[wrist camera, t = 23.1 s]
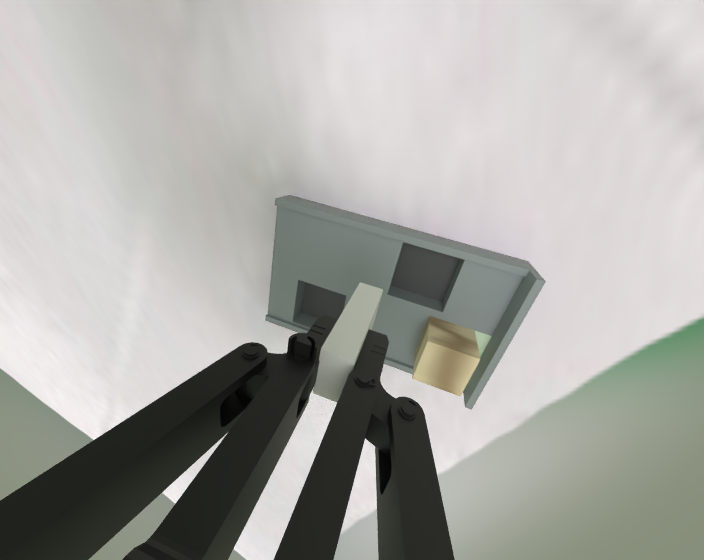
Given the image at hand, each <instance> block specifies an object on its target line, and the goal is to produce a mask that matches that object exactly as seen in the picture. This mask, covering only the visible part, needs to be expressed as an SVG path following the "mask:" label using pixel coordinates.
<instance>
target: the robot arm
mask: <svg viewBox="0 0 704 560" xmlns="http://www.w3.org/2000/svg"><path fill="white" fill-rule="evenodd" d="M382 293H383V289H380V288H377V287H374V286H371V285H367V284H364V283H361V282H360V283H359V285H358V287H357V288H356V290H355V292H354V293H353V295H352V297H351V299H350V300H349V302H348V304H347V305H346V307H345V309H344V310H343V312H342V314H341V315H340V317H339V319H335V318H332V317H329V316H326V315H323V316H321V317H319V318H317V320H316V321H315V322H314V324H313V326H312V327H311V328H310V330H309V331H308V332H307V333H297V334H294V335H292V336H291V337H290V338H289V342H288V351H287V353H285V354H274V353H268V352H267V349H266V348H265V347H264V346H263V345H262V344H259V343H253V342H251V343H246V344H243V345H241V346H239V347H238V348H236V349H235V350H233V351H232V352H230V353H228V354H227V355H225V356H224V357H222V358H221V359H219V360H218V361H216V362H215V363H213V364H211V365H210V366H208V367H207V368H205V369H204V370H202V371H201V372H199V373H197V374H196V375H194V376H193V377H191V378H190V379H188V380H187V381H185V382H183V383H182V384H180V385H179V386H177V387H176V388H174V389H173V390H171V391H170V392H168V393H166V394H165V395H163V396H162V397H160V398H159V399H157V400H156V401H154V402H152V403H151V404H149V405H148V406H146V407H145V408H143V409H142V410H140V411H139V412H137V413H135V414H134V415H132V416H131V417H129V418H128V419H126V420H125V421H123V422H121V423H120V424H118V425H117V426H115V427H114V428H112V429H111V430H109V431H108V432H106V433H104V434H103V435H101V436H100V437H98V438H97V439H95V440H94V441H92V442H90V443H89V444H87V445H86V446H84V447H83V448H81V449H80V450H78V451H76V452H75V453H73V454H72V455H70V456H69V457H67V458H66V459H64V460H63V461H61V462H60V463H58V464H56V465H55V466H53V467H52V468H50V469H49V470H47V471H46V472H44V473H43V474H41V475H39V476H38V477H36V478H35V479H33V480H32V481H30V482H28V483H27V484H25V485H24V486H22V487H21V488H19V489H18V490H16V491H14V492H13V493H11V494H10V495H9V496H7V497H5V498H4V499H2V500H1V501H0V560H88V559H89V558H90V557H92V556H93V555H94V554H95V553H96V552H97V551H98V550H99V549H100V548H102V546H104V545H105V544H106V543H107V542H108V541H109V540H110V539H111V538H113V537H114V536H115V535H116V534H117V533H118V532H119V531H120V530H121V529H122V528H123V527H125V526H126V525H127V524H128V523H129V522H130V521H131V520H132V519H133V518H134V517H135V516H137V515H138V514H139V513H140V512H141V511H142V510H143V509H144V508H145V507H146V506H148V505H149V504H150V503H151V502H152V501H153V500H154V499H155V498H156V497H157V496H159V495H160V494H161V493H162V492H163V491H164V490H165V489H166V488H167V487H168V486H169V485H171V484H172V483H173V482H174V481H175V480H176V479H177V478H178V477H179V476H180V475H182V474H183V473H184V472H185V471H186V470H187V469H188V468H189V467H190V466H191V465H193V464H194V463H195V462H196V461H197V460H198V459H199V458H200V457H201V456H202V455H203V454H205V453H206V452H207V451H208V450H209V449H210V448H211V447H212V446H213V445H214V444H216V443H217V442H218V441H219V440H220V439H221V438H222V437H223V436H224V435H225V434H226V433H227V435H226V436H225V438H224V439H223V440H222V442H221V443H220V444H219V446H218V447H217V448H216V450H215V451H214V452H213V454H212V455H211V456H210V458H209V459H208V461H207V462H206V463H205V465H204V466H203V467H202V469H201V470H200V471H199V473H198V474H197V475H196V477H195V478H194V480H193V481H192V482H191V484H190V485H189V486H188V488H187V489H186V490H185V492H184V493H183V494H182V496H181V497H180V498H179V500H178V501H177V503H176V504H175V505H174V507H173V508H172V509H171V511H170V512H169V513H168V515H167V516H166V517H165V519H164V520H163V522H162V523H161V524H160V526H159V527H158V528H157V530H156V531H155V532H154V534H153V535H152V536H151V537H150V538H149V539H148V540H147V541H146V542H145V543H143V544H141V545H139V546H137V547H135V548H134V549H133V550H132V551H131V552H129V553H128V555H126V556H125V557H124V558H123V560H228V558H229V556H230V554H231V552H232V550H233V548H234V546H235V544H236V542H237V541H238V539H239V537H240V535H241V533H242V531H243V529H244V527H245V525H246V523H247V521H248V519H249V517H250V515H251V513H252V511H253V509H254V507H255V505H256V503H257V501H258V500H259V498H260V496H261V494H262V492H263V490H264V488H265V486H266V484H267V482H268V480H269V478H270V476H271V474H272V472H273V470H274V468H275V466H276V464H277V462H278V460H279V458H280V457H281V455H282V453H283V451H284V449H285V447H286V445H287V443H288V441H289V439H290V437H291V435H292V433H293V431H294V429H295V427H296V425H297V423H298V421H299V419H300V417H301V416H302V414H303V412H304V410H305V408H306V406H307V404H308V401H309V396H310V393H311V391H312V389H313V387H314V389H313V393H314V394H317V395H320V396H322V397H325V398H327V399H330V400H332V401H335V402H337V405H336V407H335V410H334V412H333V415H332V417H331V420H330V422H329V425H328V427H327V430H326V432H325V434H324V437H323V439H322V442H321V444H320V447H319V449H318V452H317V454H316V457H315V459H314V462H313V464H312V467H311V469H310V472H309V474H308V476H307V479H306V481H305V484H304V486H303V489H302V491H301V494H300V496H299V499H298V501H297V504H296V506H295V509H294V511H293V514H292V516H291V518H290V521H289V523H288V526H287V528H286V531H285V533H284V536H283V538H282V541H281V543H280V546H279V548H278V551H277V553H276V555H275V558H274V560H333V559H334V555H335V551H336V547H337V544H338V539H339V536H340V532H341V528H342V524H343V521H344V517H345V513H346V509H347V505H348V501H349V498H350V494H351V490H352V486H353V482H354V478H355V474H356V471H357V467H358V463H359V459H360V455H361V451H362V448H363V444H364V440H365V438H366V439H367V440H368V441H369V442H371V443H372V444H373V445H374V446H375V454H376V487H377V519H378V552H379V560H454V556H453V550H452V545H451V540H450V536H449V531H448V526H447V521H446V516H445V511H444V507H443V502H442V497H441V492H440V487H439V482H438V478H437V473H436V468H435V463H434V458H433V453H432V449H431V444H430V439H429V434H428V429H427V424H426V420H425V415H424V412H423V409H422V408H421V406H420V405H419V404H418V403H417V402H416V401H414V400H413V399H411V398H408V397H398V398H396V399H395V398H394V397H392V396H391V395H390V394H388V393H387V392H386V391H385V390H384V388H383V387H382V385H381V382H380V376H381V372H382V368H383V364H384V360H385V357H386V353H387V349H388V345H389V340H388V337H387V335H385V334H382V333H379V332H376V331H373V330H371V329H372V327H373V324H374V320H375V317H376V313H377V310H378V307H379V303H380V300H381V296H382Z"/></svg>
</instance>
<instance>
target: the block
mask: <svg viewBox="0 0 704 560" xmlns="http://www.w3.org/2000/svg"><path fill="white" fill-rule="evenodd" d="M479 361H480V354H479V349H478V345H477V340H476V335H475V330H472V329H469V328H466V327H463V326H460V325H456V324H453V323H450V322H447V321H444V320H441V319H438V318H435V317H432V316H429V318H428V321H427V323H426V326H425V328H424V331H423V333H422V336H421V338H420V341H419V343H418V346H417V348H416V352H415V360H414V368H413V376H412V379H415V380H418V381H420V382H423V383H426V384H428V385H431V386H434V387H436V388H439V389H442V390H445V391H447V392H450V393H453V394H455V395H458V396H461V394H462V392H463V391H464V389H465V387H466V385H467V383H468V381H469V380H470V378H471V376H472V374H473V372H474V370H475V369H476V367H477V365H478V363H479Z"/></svg>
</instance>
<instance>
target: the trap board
mask: <svg viewBox="0 0 704 560" xmlns="http://www.w3.org/2000/svg"><path fill="white" fill-rule="evenodd" d="M275 205H276V206H277V217H276V228H275V240H274V251H273V263H272V274H271V285H270V297H269V308H268V314H267V315H266V319H265V320H266V321H269V322H271V323H274V324H277V325H279V326H282V327H285V328H288V329H290V330H293V331H296V332H299V333H307V332H308V331H309V330H310V328H311V327H312V326H313V324H314V322H315V321H316V320H317V318H319V317H321V316H323V315H326V316H329V317H332V318H335V319H339V317H340V315H341V314H342V312H343V310H344V309H345V307H346V305H347V304H348V302H349V300H350V299H351V297H352V295H353V293H354V292H355V290H356V288H357V287H358V285H359V283H360V282H361V283H364V284H367V285H371V286H374V287H377V288H380V289H383V293H382V296H381V300H380V303H379V307H378V310H377V313H376V317H375V320H374V324H373V327H372V329H371V330H373V331H376V332H379V333H382V334H385V335H387V337H388V340H389V345H388V349H387V353H386V357H385V360H384V364H386V365H389V366H392V367H394V368H397V369H400V370H403V371H405V372H408V373H411V374H413V368H414V360H415V352H416V348H417V346H418V343H419V341H420V338H421V336H422V333H423V331H424V328H425V326H426V323H427V321H428V318H429V316H432V317H435V318H438V319H441V320H444V321H447V322H450V323H453V324H456V325H460V326H463V327H466V328H469V329H472V330H475V335H476V340H477V345H478V349H479V354H480V361H479V363H478V365H477V367H476V369H475V370H474V372H473V374H472V376H471V378H470V380H469V381H468V383H467V385H466V387H465V389H464V391H463V393H464V402H465V407H466V408H469V409H472V408H473V406H474V404H475V403H476V401H477V399H478V397H479V396H480V394H481V392H482V391H483V389H484V387H485V385H486V384H487V382H488V380H489V378H490V377H491V375H492V373H493V372H494V370H495V368H496V366H497V365H498V363H499V361H500V360H501V358H502V356H503V354H504V353H505V351H506V349H507V347H508V346H509V344H510V342H511V341H512V339H513V337H514V335H515V334H516V332H517V330H518V328H519V327H520V325H521V323H522V322H523V320H524V318H525V316H526V315H527V313H528V311H529V309H530V308H531V306H532V304H533V303H534V301H535V299H536V297H537V296H538V294H539V292H540V291H541V289H542V287H543V285H544V284H545V282H546V281H545V280H544V279H543V278H542V277H541V276H540V275H539V273H538V272H537V271H536V270H535V269H534V268H533V266H532V265H531V264H530V263H529V262H528V261H525V260H521V259H518V258H514V257H511V256H507V255H503V254H500V253H496V252H493V251H489V250H485V249H482V248H478V247H475V246H471V245H467V244H464V243H460V242H457V241H453V240H449V239H446V238H442V237H439V236H435V235H431V234H428V233H424V232H421V231H417V230H413V229H410V228H406V227H403V226H399V225H395V224H392V223H388V222H385V221H381V220H377V219H374V218H370V217H367V216H363V215H359V214H356V213H352V212H349V211H345V210H341V209H338V208H334V207H331V206H327V205H323V204H320V203H316V202H313V201H309V200H305V199H302V198H298V197H295V196H291V195H288V196H284V197H280V198H276V200H275Z"/></svg>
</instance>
